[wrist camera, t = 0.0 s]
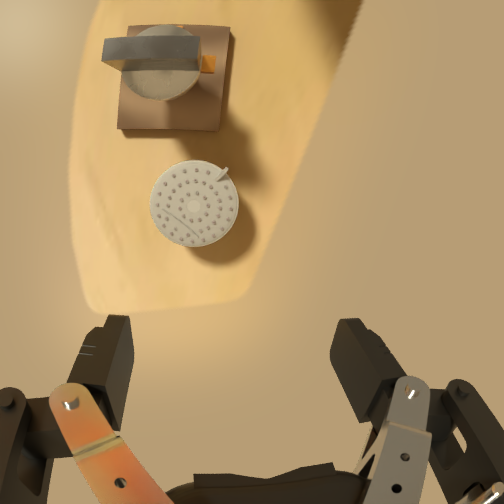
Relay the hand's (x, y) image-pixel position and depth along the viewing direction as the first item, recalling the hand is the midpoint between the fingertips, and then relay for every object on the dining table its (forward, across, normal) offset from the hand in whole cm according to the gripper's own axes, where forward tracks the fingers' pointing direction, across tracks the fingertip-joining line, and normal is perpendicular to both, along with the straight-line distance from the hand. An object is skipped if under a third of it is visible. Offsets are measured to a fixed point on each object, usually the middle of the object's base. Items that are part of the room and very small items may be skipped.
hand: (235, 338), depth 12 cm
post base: (+29, +6, -13) cm, 33 cm away
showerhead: (+30, +2, +1) cm, 30 cm away
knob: (+22, +5, -13) cm, 26 cm away
